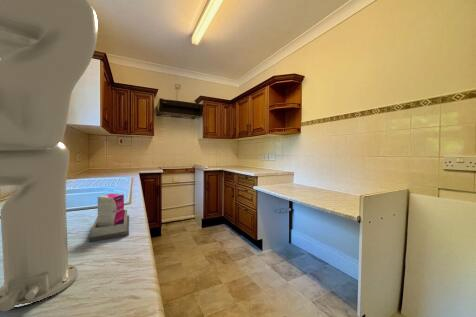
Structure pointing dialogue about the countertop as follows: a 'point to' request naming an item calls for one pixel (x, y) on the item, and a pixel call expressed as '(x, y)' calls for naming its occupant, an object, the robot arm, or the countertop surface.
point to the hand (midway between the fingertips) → (28, 152)
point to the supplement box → (110, 210)
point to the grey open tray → (109, 230)
